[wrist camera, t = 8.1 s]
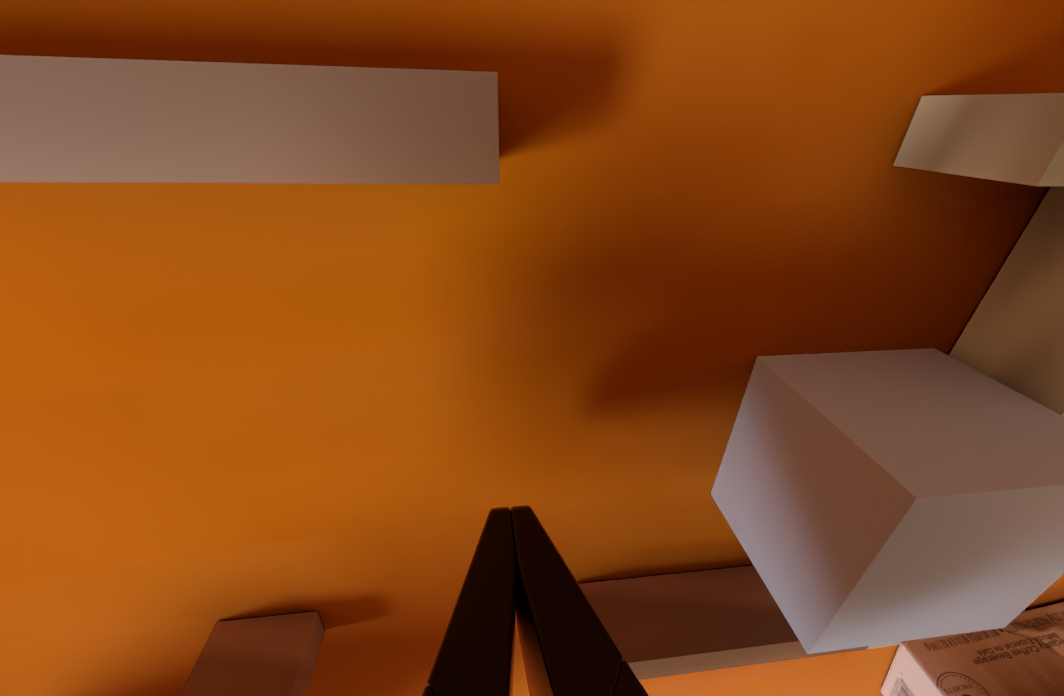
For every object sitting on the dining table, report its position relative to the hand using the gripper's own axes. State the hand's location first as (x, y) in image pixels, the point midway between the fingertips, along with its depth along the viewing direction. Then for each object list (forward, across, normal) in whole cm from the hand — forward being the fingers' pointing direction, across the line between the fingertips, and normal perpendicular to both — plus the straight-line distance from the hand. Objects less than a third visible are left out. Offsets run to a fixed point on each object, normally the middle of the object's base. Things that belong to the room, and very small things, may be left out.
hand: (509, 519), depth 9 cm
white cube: (+2, -9, 0) cm, 9 cm away
